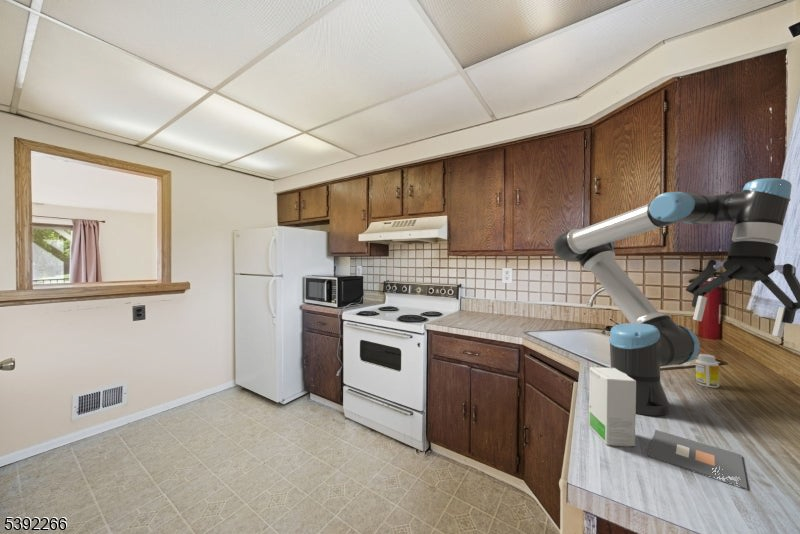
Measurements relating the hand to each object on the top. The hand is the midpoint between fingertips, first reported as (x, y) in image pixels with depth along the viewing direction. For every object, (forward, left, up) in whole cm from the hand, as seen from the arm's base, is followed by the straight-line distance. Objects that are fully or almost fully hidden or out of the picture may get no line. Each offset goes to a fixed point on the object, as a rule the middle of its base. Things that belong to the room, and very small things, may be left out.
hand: (733, 327), depth 72 cm
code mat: (-7, -19, -26) cm, 33 cm away
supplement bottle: (-5, +38, -26) cm, 46 cm away
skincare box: (-21, -23, -26) cm, 40 cm away
